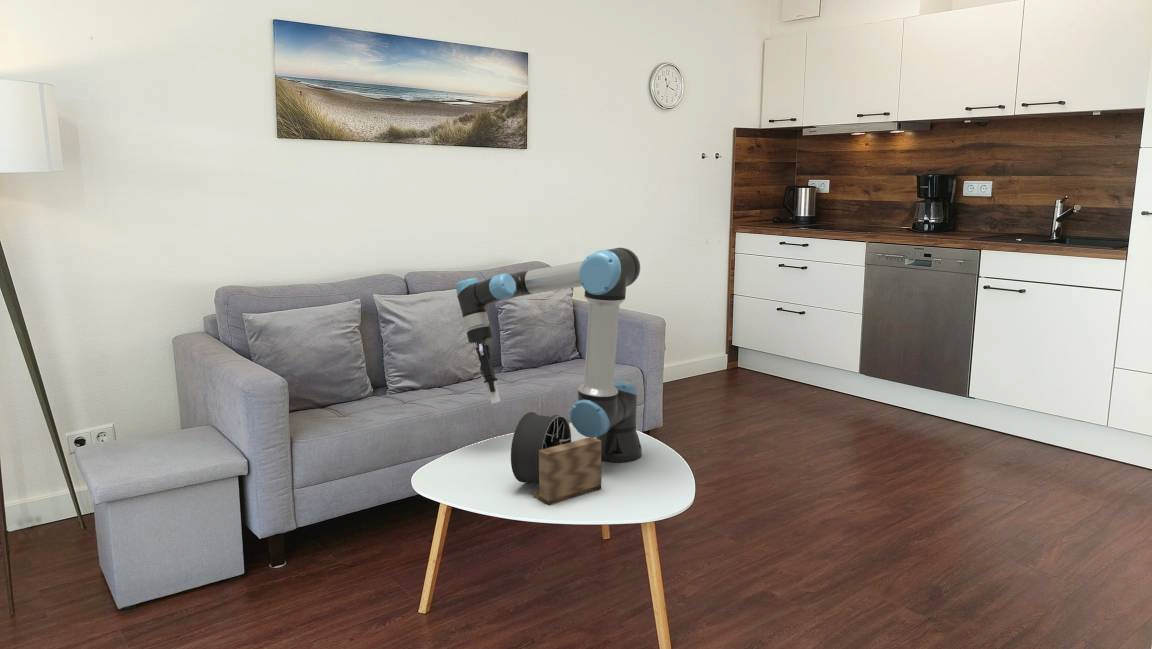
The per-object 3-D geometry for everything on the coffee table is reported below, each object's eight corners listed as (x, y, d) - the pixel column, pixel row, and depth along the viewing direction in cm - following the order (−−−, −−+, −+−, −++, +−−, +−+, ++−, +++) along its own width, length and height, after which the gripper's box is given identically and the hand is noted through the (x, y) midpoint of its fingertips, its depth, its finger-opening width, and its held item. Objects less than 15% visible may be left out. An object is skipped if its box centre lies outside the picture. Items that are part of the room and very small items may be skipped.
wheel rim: (541, 498, 220) (540, 426, 216) (511, 493, 224) (509, 422, 220) (571, 473, 238) (571, 407, 234) (543, 469, 242) (542, 403, 238)
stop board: (585, 481, 231) (585, 434, 229) (601, 489, 226) (601, 440, 224) (533, 497, 221) (532, 447, 218) (548, 505, 215) (547, 454, 213)
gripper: (469, 333, 261) (487, 405, 259) (463, 329, 248) (481, 405, 246) (492, 327, 261) (510, 399, 259) (487, 323, 248) (505, 399, 246)
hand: (496, 402), depth 252 cm, fingers closed
